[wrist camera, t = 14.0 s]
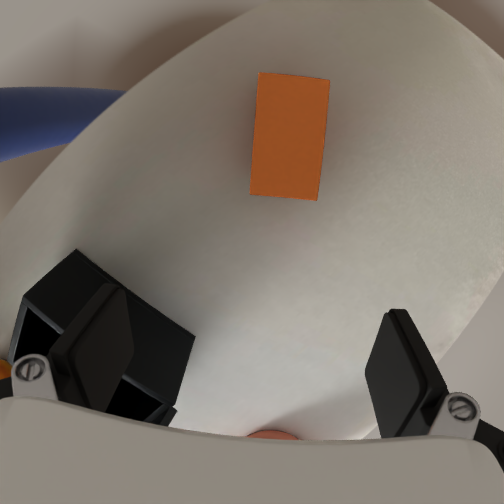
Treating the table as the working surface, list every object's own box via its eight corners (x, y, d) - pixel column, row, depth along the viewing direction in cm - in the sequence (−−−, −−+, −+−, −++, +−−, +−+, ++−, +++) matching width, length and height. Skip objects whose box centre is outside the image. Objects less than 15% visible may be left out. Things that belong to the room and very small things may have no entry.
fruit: (-25, 358, 41) (-25, 396, 36) (1, 346, 43) (2, 386, 38) (3, 376, 48) (5, 411, 43) (29, 365, 49) (32, 402, 44)
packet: (253, 176, 30) (249, 194, 24) (261, 81, 26) (258, 72, 20) (307, 181, 30) (317, 201, 24) (316, 87, 26) (330, 80, 20)
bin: (48, 312, 39) (6, 360, 29) (76, 248, 34) (22, 295, 24) (148, 384, 43) (126, 443, 33) (195, 336, 38) (175, 404, 28)
